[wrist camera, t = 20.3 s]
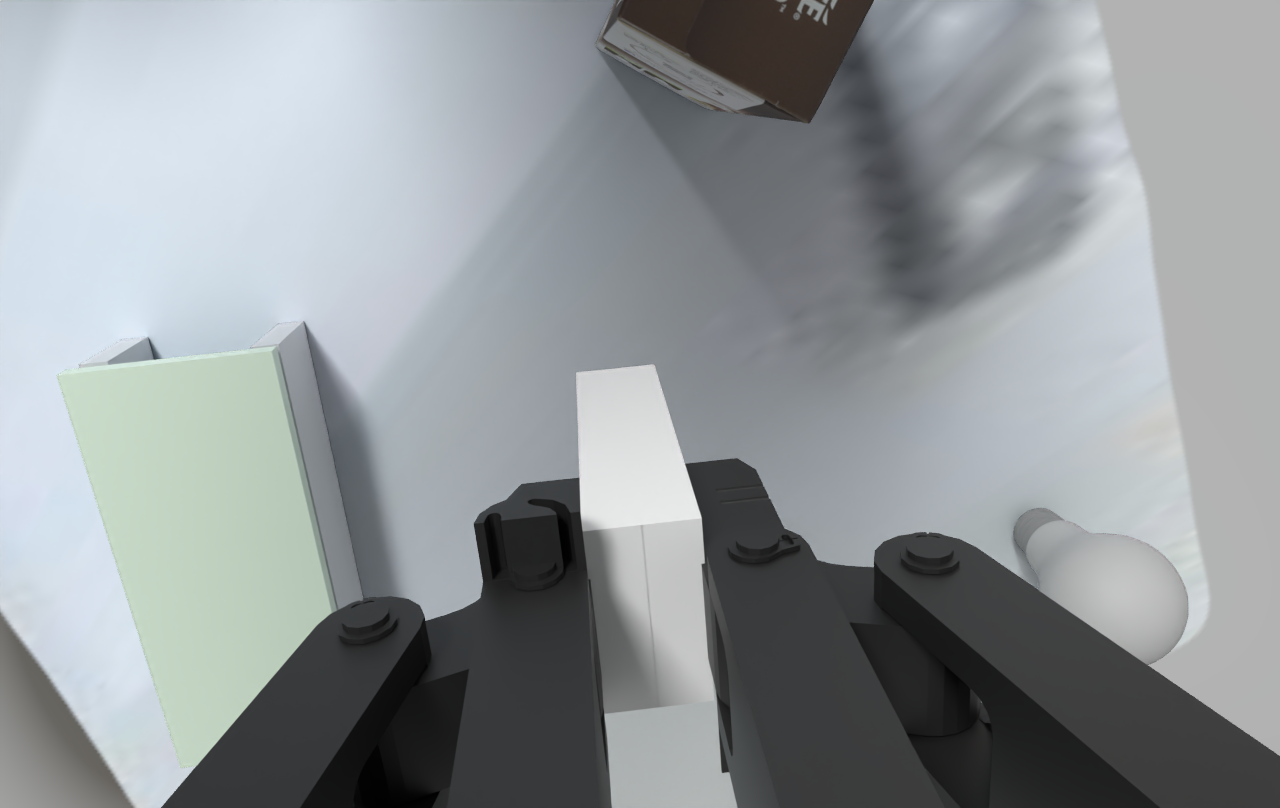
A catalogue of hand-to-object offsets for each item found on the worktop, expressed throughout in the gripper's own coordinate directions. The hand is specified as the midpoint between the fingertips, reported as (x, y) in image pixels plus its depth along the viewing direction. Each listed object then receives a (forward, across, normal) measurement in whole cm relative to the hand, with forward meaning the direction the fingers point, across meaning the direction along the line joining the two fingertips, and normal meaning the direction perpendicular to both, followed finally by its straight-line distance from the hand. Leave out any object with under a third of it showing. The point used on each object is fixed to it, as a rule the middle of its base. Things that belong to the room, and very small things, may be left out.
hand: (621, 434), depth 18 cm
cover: (+22, -18, -13) cm, 31 cm away
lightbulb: (+27, +22, -18) cm, 39 cm away
